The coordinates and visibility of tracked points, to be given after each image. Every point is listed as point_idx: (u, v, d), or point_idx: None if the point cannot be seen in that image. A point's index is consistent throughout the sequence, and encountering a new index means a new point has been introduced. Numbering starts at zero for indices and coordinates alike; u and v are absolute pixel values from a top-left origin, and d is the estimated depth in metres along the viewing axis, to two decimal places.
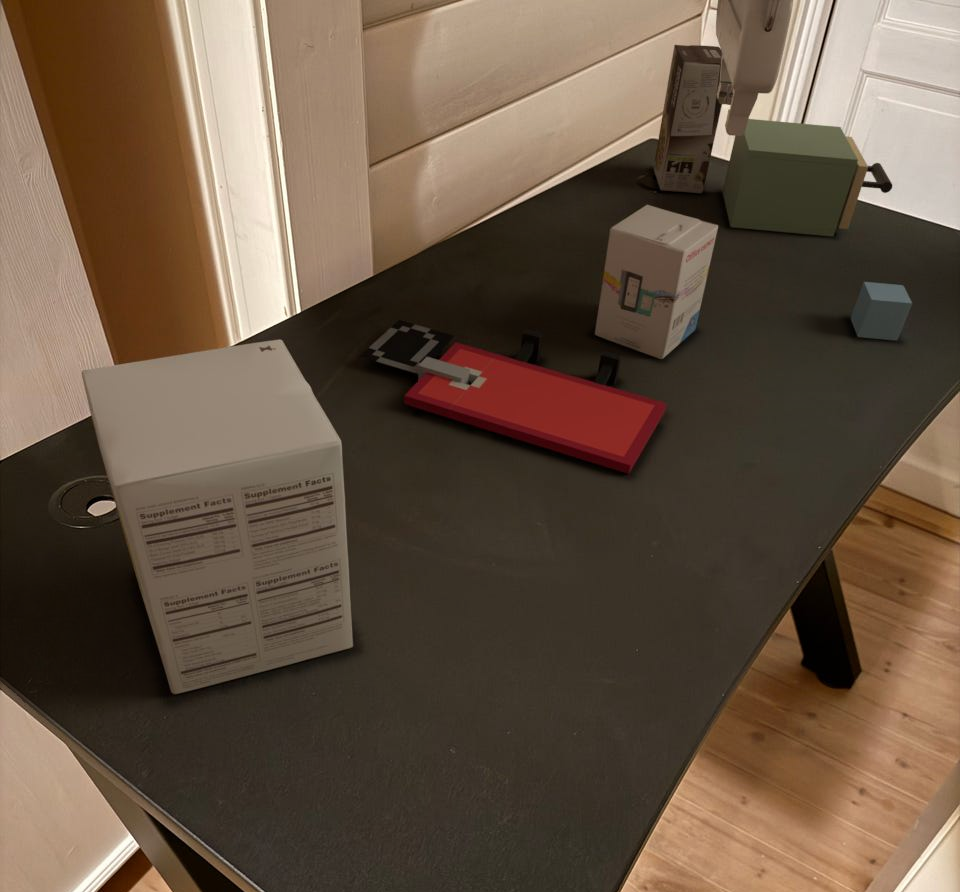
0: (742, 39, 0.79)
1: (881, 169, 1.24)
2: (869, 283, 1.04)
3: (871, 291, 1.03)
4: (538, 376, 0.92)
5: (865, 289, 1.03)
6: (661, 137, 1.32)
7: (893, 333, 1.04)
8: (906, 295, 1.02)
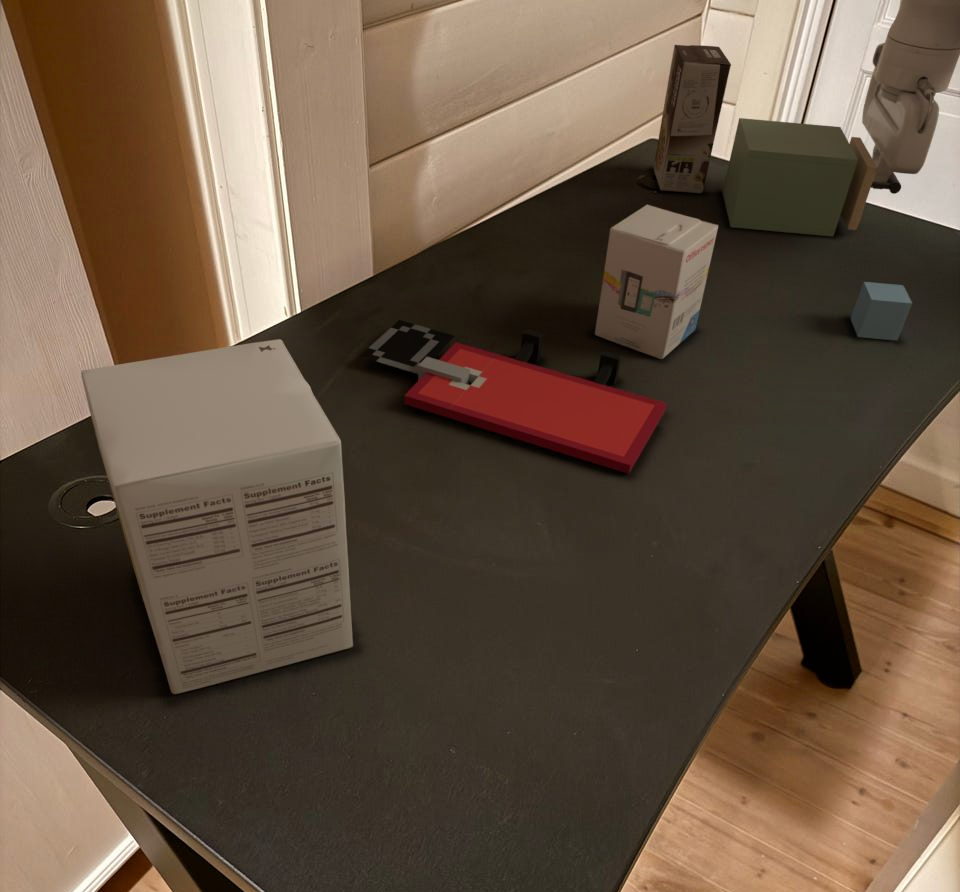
0: (900, 137, 1.12)
1: None
2: (869, 283, 1.04)
3: (871, 291, 1.03)
4: (538, 376, 0.92)
5: (865, 289, 1.03)
6: (661, 137, 1.32)
7: (893, 333, 1.04)
8: (906, 295, 1.02)
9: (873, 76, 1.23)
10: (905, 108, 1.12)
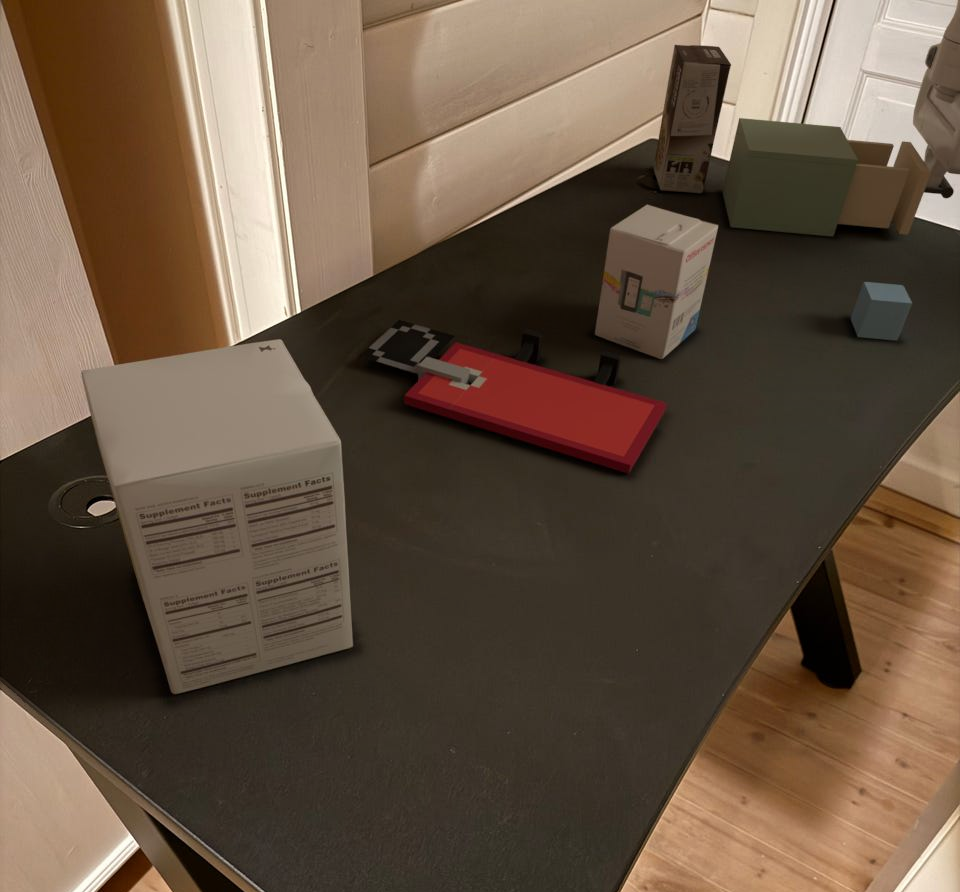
0: (958, 138, 1.12)
1: None
2: (869, 283, 1.04)
3: (871, 291, 1.03)
4: (538, 376, 0.92)
5: (865, 289, 1.03)
6: (661, 137, 1.32)
7: (893, 333, 1.04)
8: (906, 295, 1.02)
9: (925, 77, 1.22)
10: None
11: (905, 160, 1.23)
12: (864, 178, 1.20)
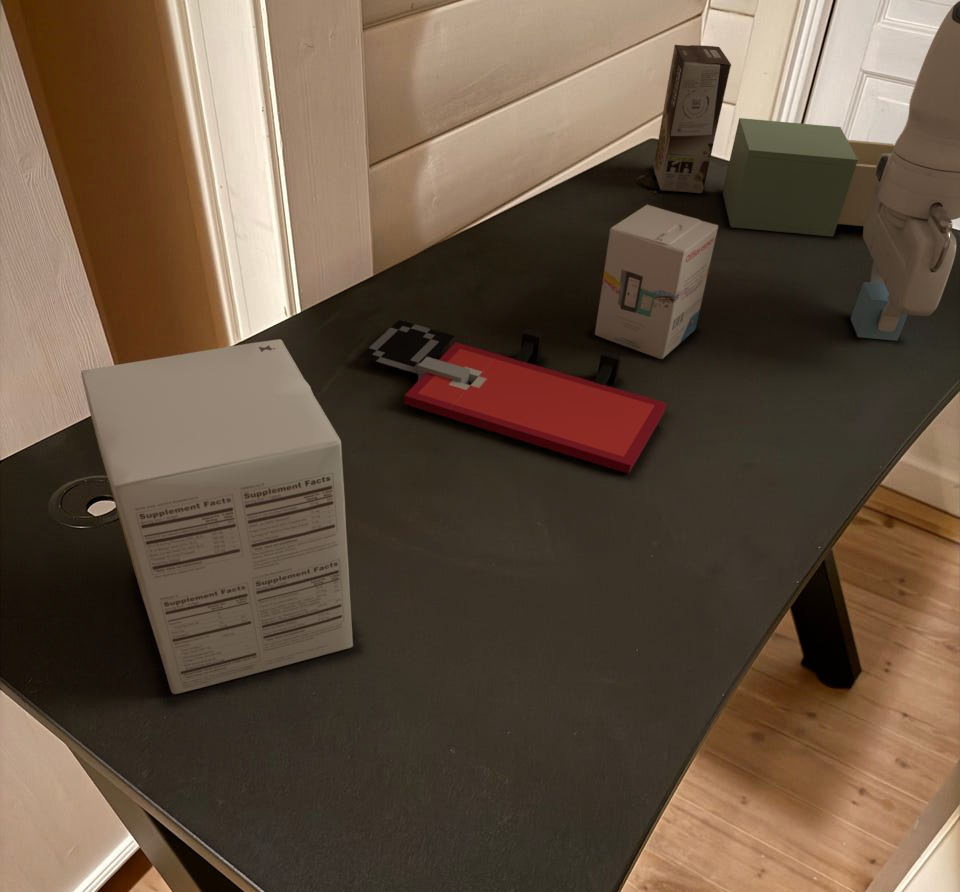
0: (909, 275, 0.92)
1: None
2: (869, 283, 1.04)
3: (871, 291, 1.03)
4: (538, 376, 0.92)
5: (865, 289, 1.03)
6: (661, 137, 1.32)
7: (893, 333, 1.04)
8: None
9: (876, 188, 1.03)
10: (914, 240, 0.92)
11: None
12: (865, 178, 1.20)
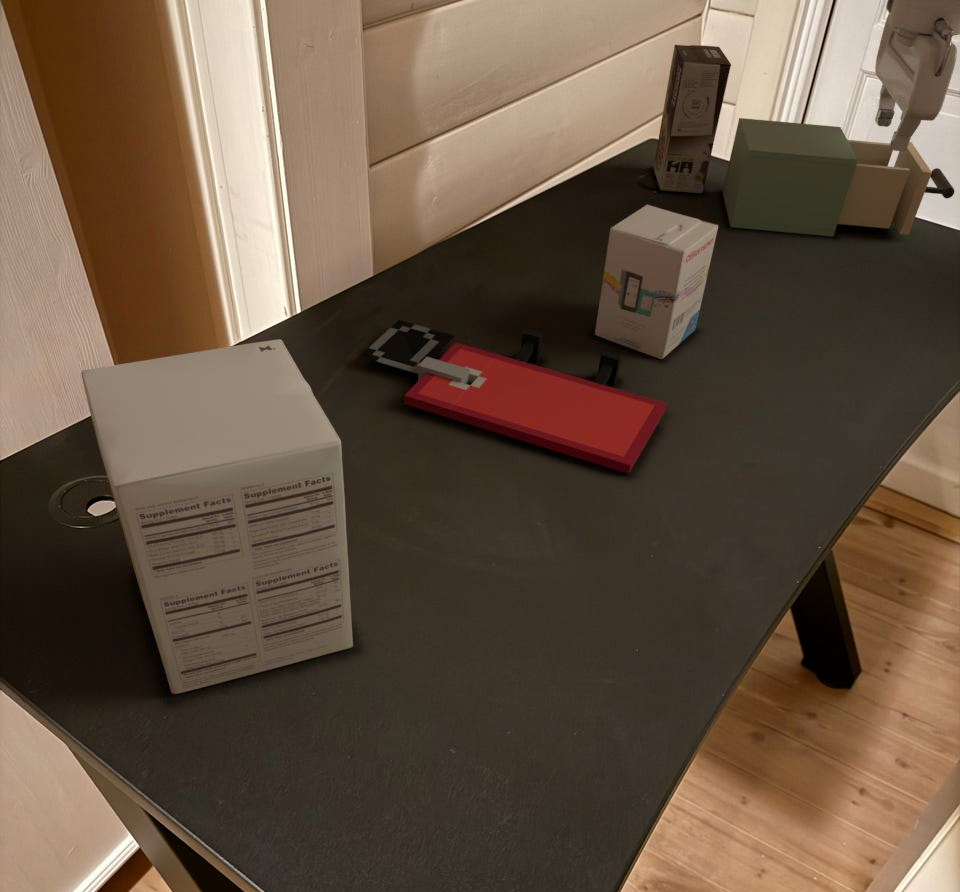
0: (917, 81, 1.08)
1: (942, 174, 1.24)
2: None
3: None
4: (538, 376, 0.92)
5: None
6: (661, 137, 1.32)
7: None
8: None
9: (887, 23, 1.18)
10: (921, 50, 1.08)
11: (906, 161, 1.23)
12: (865, 178, 1.20)
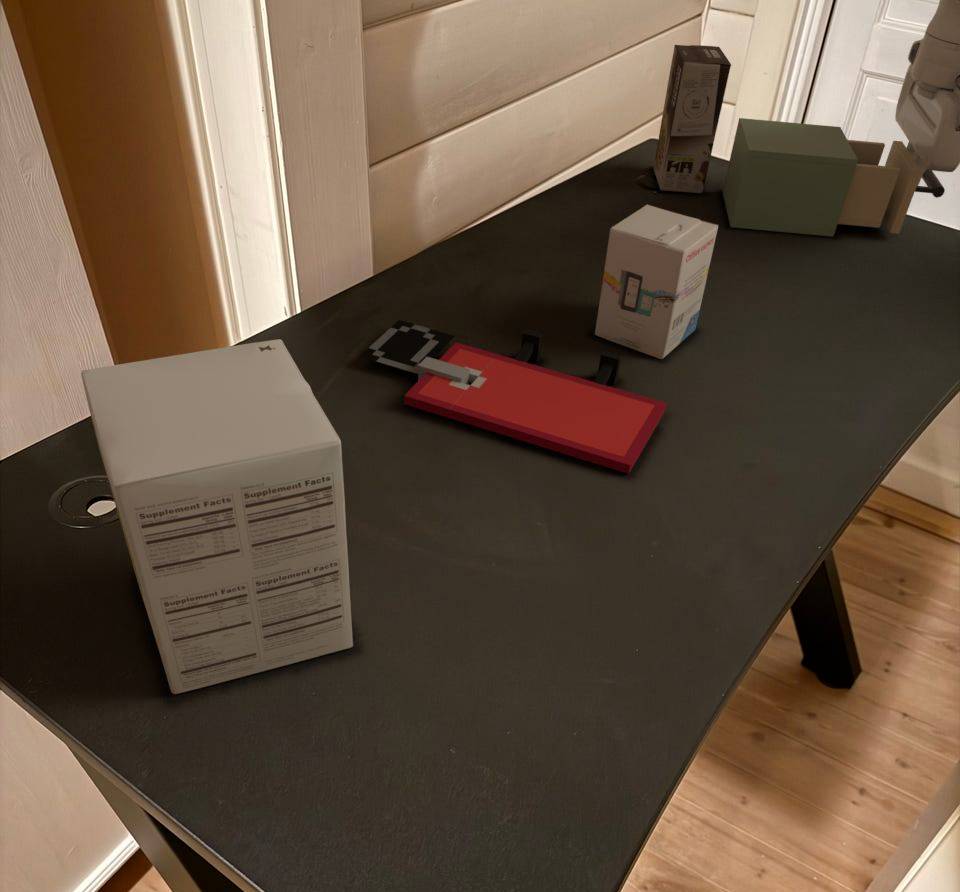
0: (938, 135, 1.12)
1: (932, 174, 1.24)
2: None
3: None
4: (538, 376, 0.92)
5: None
6: (661, 137, 1.32)
7: None
8: None
9: (908, 73, 1.22)
10: (942, 105, 1.11)
11: (897, 160, 1.23)
12: (855, 177, 1.20)
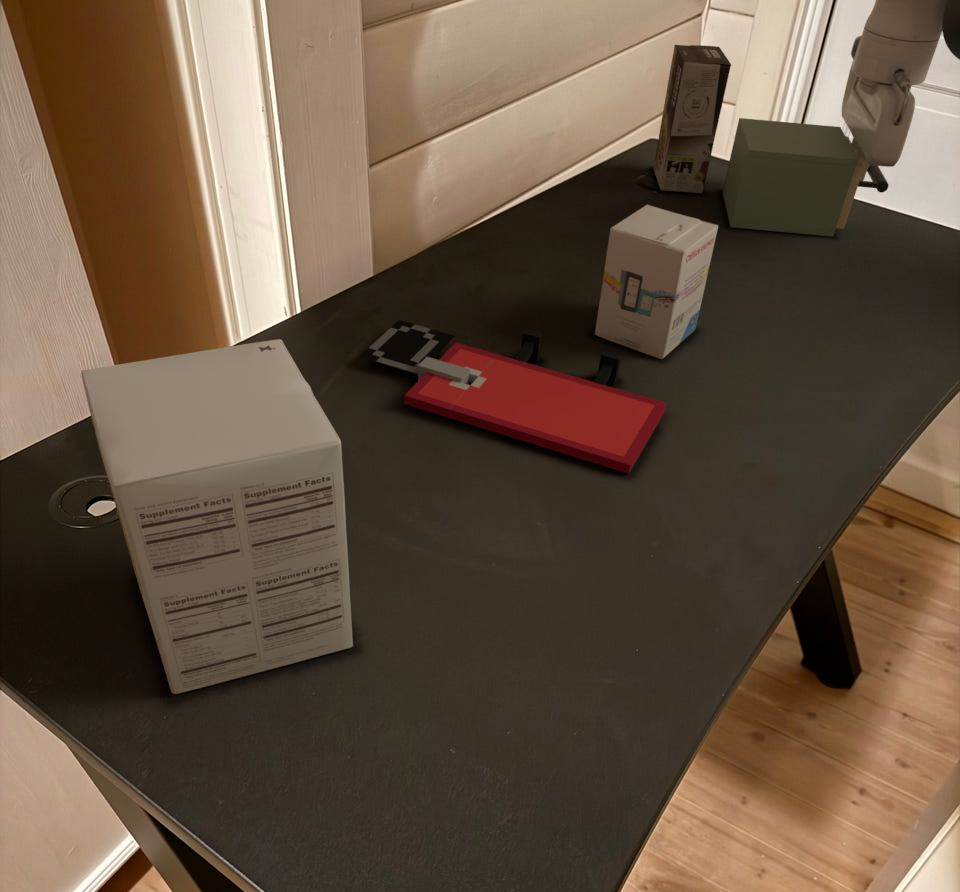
0: (877, 130, 1.12)
1: (877, 169, 1.24)
2: None
3: None
4: (538, 376, 0.92)
5: None
6: (661, 137, 1.32)
7: None
8: None
9: (852, 69, 1.22)
10: (881, 100, 1.12)
11: None
12: None
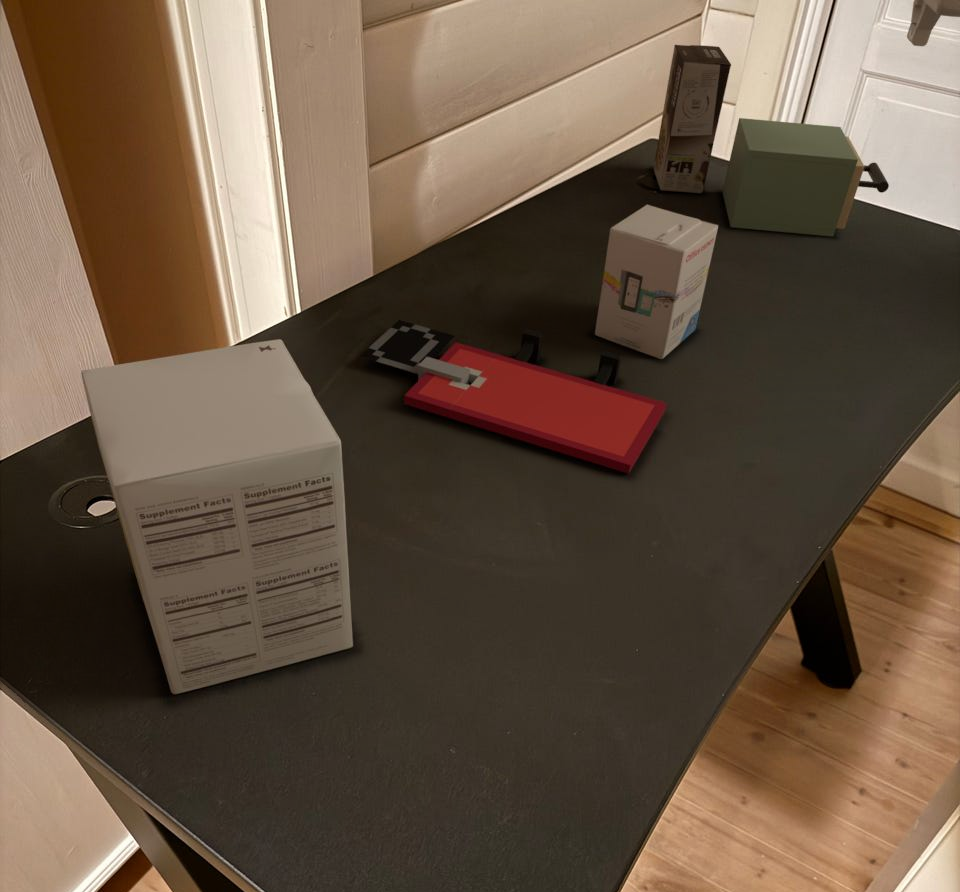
0: None
1: (877, 169, 1.24)
2: None
3: None
4: (538, 376, 0.92)
5: None
6: (661, 137, 1.32)
7: None
8: None
9: None
10: None
11: None
12: None
